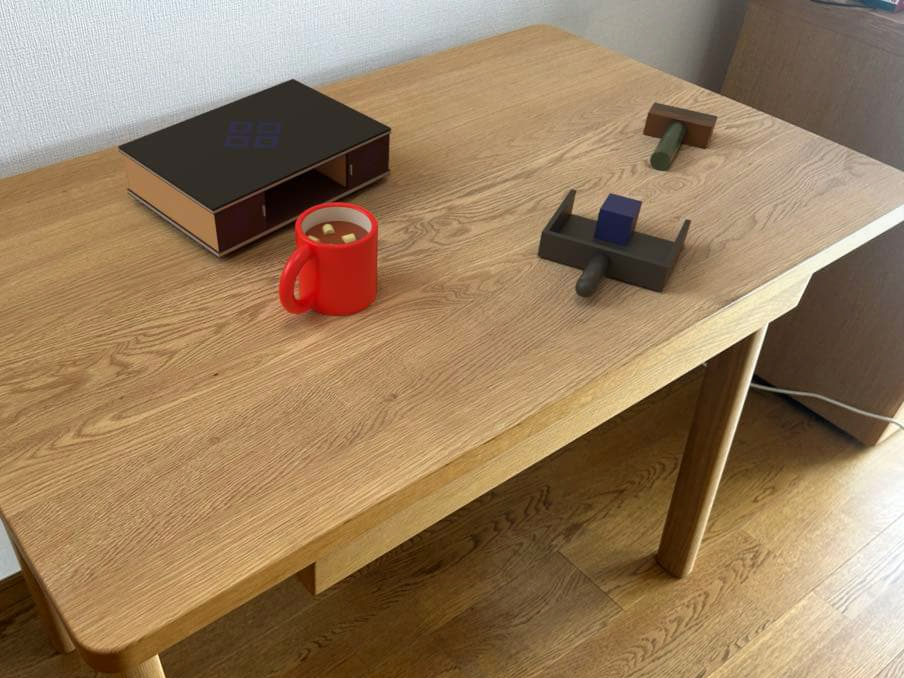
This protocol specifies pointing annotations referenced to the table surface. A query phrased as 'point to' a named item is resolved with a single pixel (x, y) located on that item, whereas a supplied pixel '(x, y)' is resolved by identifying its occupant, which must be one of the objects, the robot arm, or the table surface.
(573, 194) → the dustpan
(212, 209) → the low tv stand
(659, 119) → the brush
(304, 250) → the mug
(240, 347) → the table surface
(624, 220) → the navy blue toy block
